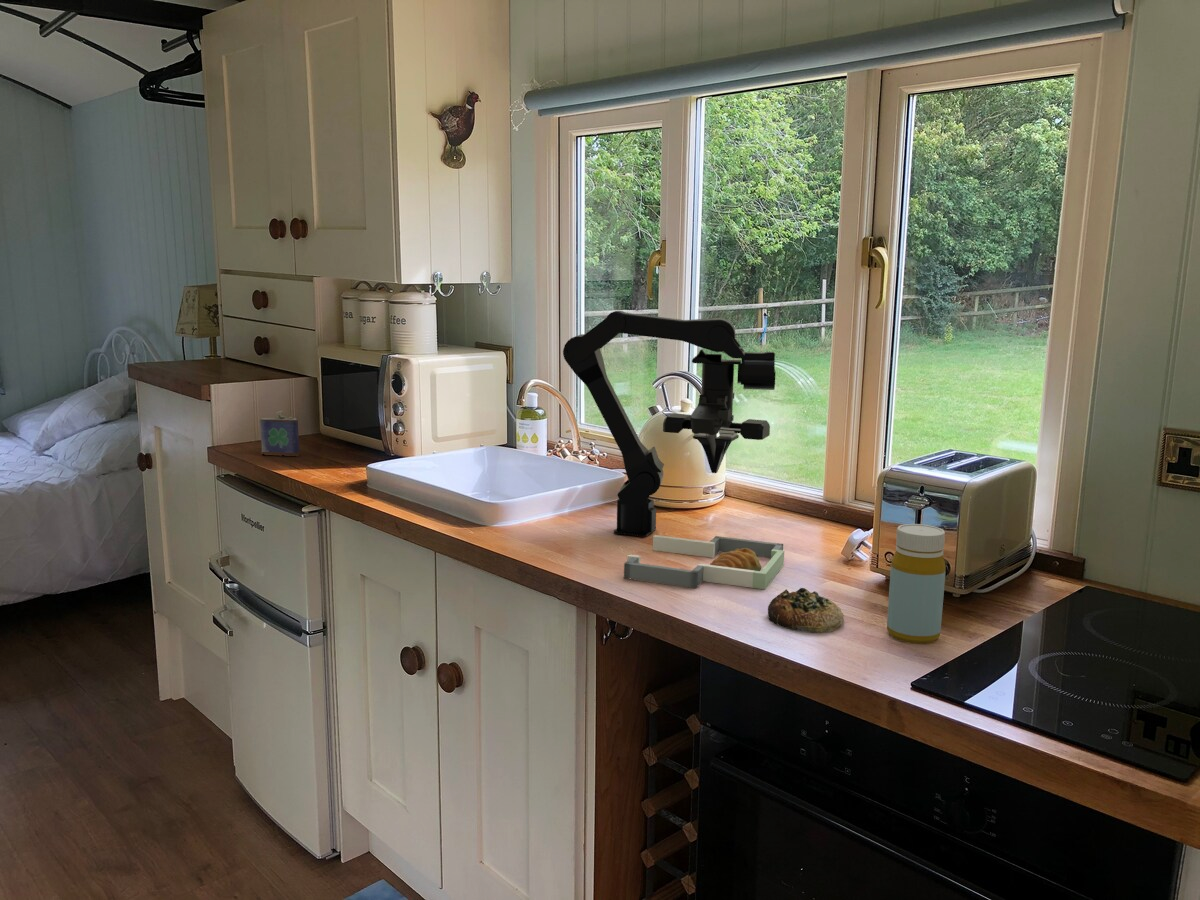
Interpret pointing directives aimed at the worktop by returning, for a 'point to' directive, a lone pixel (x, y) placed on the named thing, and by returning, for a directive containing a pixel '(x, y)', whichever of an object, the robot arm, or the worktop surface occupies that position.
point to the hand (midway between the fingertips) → (714, 472)
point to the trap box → (705, 571)
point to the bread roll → (805, 611)
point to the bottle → (917, 584)
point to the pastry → (738, 560)
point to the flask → (280, 434)
